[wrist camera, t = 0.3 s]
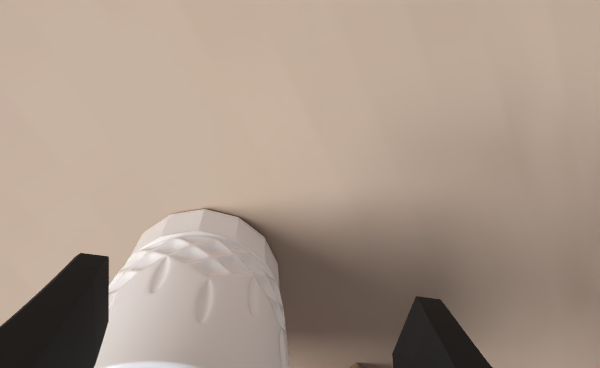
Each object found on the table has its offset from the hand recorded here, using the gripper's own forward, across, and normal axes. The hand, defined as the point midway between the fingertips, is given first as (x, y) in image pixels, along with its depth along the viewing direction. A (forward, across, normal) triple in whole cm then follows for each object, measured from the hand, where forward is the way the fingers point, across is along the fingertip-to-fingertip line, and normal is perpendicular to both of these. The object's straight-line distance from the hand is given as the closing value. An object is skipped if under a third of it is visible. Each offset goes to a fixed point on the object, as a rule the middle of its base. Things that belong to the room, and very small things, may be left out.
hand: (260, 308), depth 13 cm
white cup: (+10, +2, +8) cm, 13 cm away
